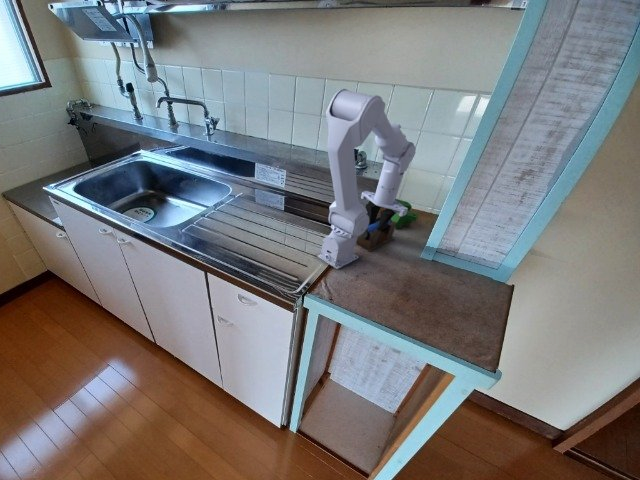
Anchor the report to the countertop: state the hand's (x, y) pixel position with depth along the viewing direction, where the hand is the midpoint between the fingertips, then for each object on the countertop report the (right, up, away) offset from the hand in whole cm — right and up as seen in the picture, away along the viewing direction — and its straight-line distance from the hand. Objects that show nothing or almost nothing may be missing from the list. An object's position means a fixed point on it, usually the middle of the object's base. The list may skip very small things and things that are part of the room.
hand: (375, 227), depth 100 cm
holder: (0, -3, +3) cm, 5 cm away
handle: (0, -1, +1) cm, 2 cm away
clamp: (+13, +4, +11) cm, 18 cm away
